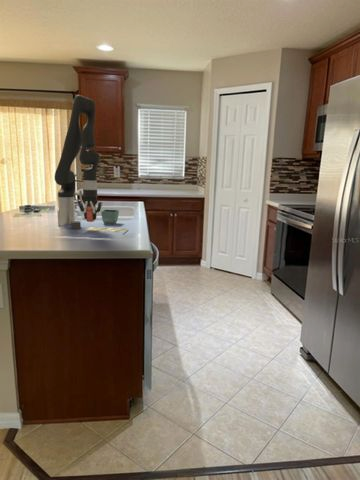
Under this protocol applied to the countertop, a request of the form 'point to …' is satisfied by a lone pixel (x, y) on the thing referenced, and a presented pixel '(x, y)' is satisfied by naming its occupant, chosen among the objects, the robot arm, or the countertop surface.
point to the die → (75, 224)
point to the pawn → (89, 214)
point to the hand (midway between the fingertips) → (90, 219)
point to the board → (107, 229)
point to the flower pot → (110, 216)
